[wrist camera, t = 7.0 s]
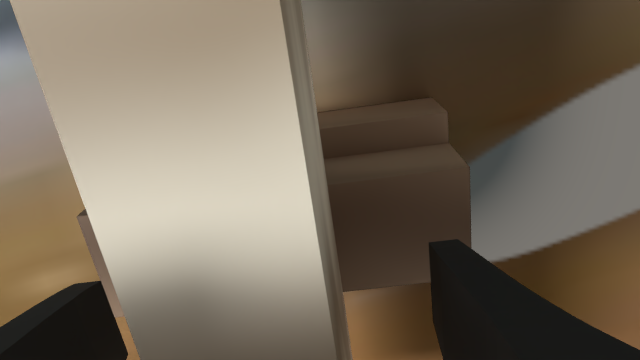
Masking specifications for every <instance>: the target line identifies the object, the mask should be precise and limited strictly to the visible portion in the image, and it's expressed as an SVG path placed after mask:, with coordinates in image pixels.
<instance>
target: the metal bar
mask: <svg viewBox="0 0 640 360" xmlns="http://www.w3.org/2000/svg"><path fill="white" fill-rule="evenodd" d="M10 3H11V6H12V8H13V11H14V14H15V17H16V19H17V22H18V25H19V28H20V30H21V33H22V36H23V38H24V41H25V44H26V47H27V49H28V52H29V55H30V58H31V60H32V63H33V66H34V69H35V71H36V74H37V77H38V80H39V82H40V85H41V88H42V91H43V93H44V96H45V99H46V102H47V104H48V107H49V110H50V113H51V115H52V118H53V121H54V124H55V126H56V129H57V132H58V135H59V137H60V140H61V143H62V145H63V148H64V151H65V154H66V156H67V159H68V162H69V165H70V167H71V170H72V173H73V176H74V178H75V181H76V184H77V187H78V189H79V192H80V195H81V198H82V200H83V203H84V206H85V209H86V211H87V214H88V217H89V220H90V222H91V225H92V228H93V231H94V233H95V236H96V239H97V242H98V244H99V247H100V250H101V253H102V255H103V258H104V261H105V263H106V266H107V269H108V272H109V274H110V277H111V280H112V283H113V285H114V288H115V291H116V294H117V296H118V299H119V302H120V305H121V307H122V310H123V313H124V316H125V318H126V321H127V324H128V327H129V329H130V332H131V335H132V338H133V340H134V343H135V346H136V349H137V351H138V354H139V357H140V360H352V353H351V346H350V339H349V332H348V325H347V318H346V311H345V304H344V297H343V290H342V283H341V276H340V269H339V263H338V256H337V249H336V242H335V235H334V228H333V221H332V214H331V207H330V200H329V193H328V186H327V179H326V172H325V165H324V158H323V152H322V145H321V138H320V131H319V124H318V117H317V110H316V103H315V96H314V89H313V82H312V75H311V68H310V61H309V54H308V47H307V40H306V34H305V27H304V20H303V13H302V6H301V0H10Z"/></svg>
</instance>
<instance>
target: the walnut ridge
mask: <svg viewBox="0 0 640 360" xmlns="http://www.w3.org/2000/svg"><path fill="white" fill-rule="evenodd" d="M317 117H318V124H319V131H320V138H321V145H322V152H323V158H324V165H325V172H326V179H327V186H328V193H329V200H330V207H331V214H332V221H333V228H334V235H335V242H336V249H337V256H338V263H339V269H340V276H341V283H342V290H343V292H347V291H356V290H365V289H374V288H383V287H391V286H400V285H409V284H418V283H427V282H431V278H430V261H429V243H428V242H436V241H445V240H453V239H458V240H460V241H461V242H463V243H464V244H465V245H467V246H468V247H470V248H471V209H470V208H471V207H470V167H469V166H468V165H467V163H466V162H465V161H464V160H463V159H462V158H461V156H460V155H459V154H458V153H457V152H456V151H455V149H454V148H453V147H452V146H451V145H450V144H449V133H448V112H447V111H446V110H445V109H444V108H443V107H442V106H441V105H440V104H438V103H437V102H436V101H435V100H434V99H433V98H432V97H431V98H424V99H416V100H409V101H401V102H394V103H387V104H379V105H372V106H364V107H357V108H350V109H342V110H335V111H328V112H320V113H317ZM77 219H78V222H79V225H80V227H81V230H82V233H83V235H84V238H85V241H86V243H87V246H88V249H89V251H90V254H91V257H92V259H93V262H94V265H95V267H96V270H97V273H98V275H99V278H100V281H101V282H102V285H103V288H104V290H105V293H106V296H107V298H108V301H109V304H110V306H111V309H112V312H113V315H114V317H123V316H124V313H123V310H122V307H121V305H120V302H119V299H118V296H117V294H116V291H115V288H114V285H113V283H112V280H111V277H110V274H109V272H108V269H107V266H106V263H105V261H104V258H103V255H102V253H101V250H100V247H99V244H98V242H97V239H96V236H95V233H94V231H93V228H92V225H91V222H90V220H89V217H88V214H87V211H86V209H85V210H83V211H82V212H81V213H80V214H79V215H78V216H77Z"/></svg>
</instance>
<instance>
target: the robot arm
mask: <svg viewBox="0 0 640 360" xmlns="http://www.w3.org/2000/svg"><path fill="white" fill-rule="evenodd" d="M428 243H429V261H430V278H431V295H432V312H433V323H434V326H435V330H436V334H437V338H438V342H439V345H440V349H441V353H442V356H443V360H640V350H638V349H636V348H634V347H632V346H630V345H628V344H626V343H624V342H622V341H620V340H618V339H616V338H614V337H612V336H610V335H608V334H606V333H604V332H602V331H600V330H598V329H596V328H594V327H592V326H590V325H589V324H587V323H585V322H583V321H581V320H579V319H578V318H576V317H574V316H572V315H571V314H569V313H567V312H565V311H564V310H562V309H560V308H559V307H557V306H555V305H554V304H552V303H550V302H549V301H547V300H545V299H544V298H542V297H540V296H539V295H537V294H536V293H534V292H533V291H531V290H529V289H528V288H526V287H525V286H523V285H522V284H520V283H519V282H517V281H516V280H514V279H513V278H511V277H510V276H508V275H507V274H506V273H504V272H503V271H501V270H500V269H498V268H497V267H496V266H494V265H493V264H492V263H490V262H489V261H487V260H486V259H485V258H483V257H482V256H480V255H479V254H478V253H476V252H475V251H473V250H472V249H471V248H470V247H468V246H467V245H465V244H464V243H463V242H461V241H460V240H458V239H453V240H445V241H436V242H428ZM127 356H128V352H127V349H126V347H125V344H124V341H123V339H122V336H121V333H120V331H119V328H118V325H117V323H116V320H115V317H114V315H113V312H112V309H111V306H110V304H109V301H108V298H107V296H106V293H105V290H104V288H103V285H102V282H101V281H95V282H87V283H78V284H73V285H71V286H69V287H67V288H65V289H63V290H61V291H59V292H58V293H56V294H54V295H52V296H50V297H49V298H47V299H45V300H44V301H42V302H40V303H39V304H37V305H35V306H34V307H32V308H30V309H29V310H27V311H26V312H24V313H22V314H21V315H19V316H18V317H16V318H14V319H13V320H11V321H10V322H8V323H6V324H5V325H3V326H2V327H0V360H126V359H127Z"/></svg>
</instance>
